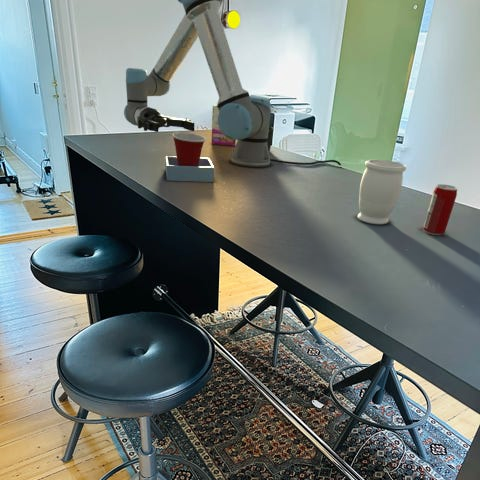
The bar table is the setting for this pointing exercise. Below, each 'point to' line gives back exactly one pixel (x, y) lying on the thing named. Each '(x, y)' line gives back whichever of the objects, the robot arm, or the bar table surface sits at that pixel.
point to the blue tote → (189, 171)
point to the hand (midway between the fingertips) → (175, 127)
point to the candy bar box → (219, 131)
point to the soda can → (440, 209)
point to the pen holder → (269, 138)
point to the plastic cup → (188, 148)
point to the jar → (379, 190)
